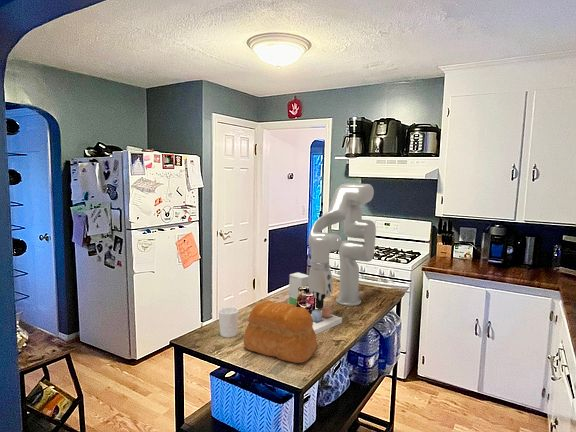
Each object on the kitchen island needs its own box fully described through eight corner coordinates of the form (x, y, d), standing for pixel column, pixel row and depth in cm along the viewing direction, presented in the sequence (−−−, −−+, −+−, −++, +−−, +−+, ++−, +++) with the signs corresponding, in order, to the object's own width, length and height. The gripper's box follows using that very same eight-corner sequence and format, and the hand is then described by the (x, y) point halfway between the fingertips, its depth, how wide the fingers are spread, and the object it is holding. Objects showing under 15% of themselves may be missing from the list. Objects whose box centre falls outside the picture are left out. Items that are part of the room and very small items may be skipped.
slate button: (315, 318, 166) (316, 309, 166) (323, 321, 164) (323, 312, 163) (309, 321, 164) (309, 311, 163) (316, 323, 161) (317, 314, 160)
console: (320, 318, 175) (320, 310, 175) (342, 325, 167) (342, 318, 166) (289, 330, 161) (289, 322, 161) (311, 340, 153) (311, 331, 152)
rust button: (325, 314, 171) (325, 305, 171) (332, 317, 168) (332, 308, 168) (319, 316, 168) (319, 308, 168) (326, 319, 165) (327, 310, 165)
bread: (302, 367, 132) (302, 319, 129) (239, 349, 144) (239, 305, 142) (321, 349, 145) (322, 305, 143) (262, 334, 158) (262, 293, 156)
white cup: (230, 328, 163) (230, 305, 162) (242, 334, 157) (242, 310, 156) (215, 334, 157) (214, 310, 156) (226, 340, 152) (226, 315, 151)
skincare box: (288, 305, 192) (288, 274, 190) (296, 301, 197) (297, 271, 195) (300, 309, 186) (301, 277, 184) (309, 305, 191) (310, 275, 189)
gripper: (339, 267, 159) (338, 310, 162) (312, 260, 170) (312, 301, 172) (328, 271, 154) (327, 315, 157) (300, 264, 165) (300, 305, 167)
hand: (319, 307), depth 164 cm, fingers closed
